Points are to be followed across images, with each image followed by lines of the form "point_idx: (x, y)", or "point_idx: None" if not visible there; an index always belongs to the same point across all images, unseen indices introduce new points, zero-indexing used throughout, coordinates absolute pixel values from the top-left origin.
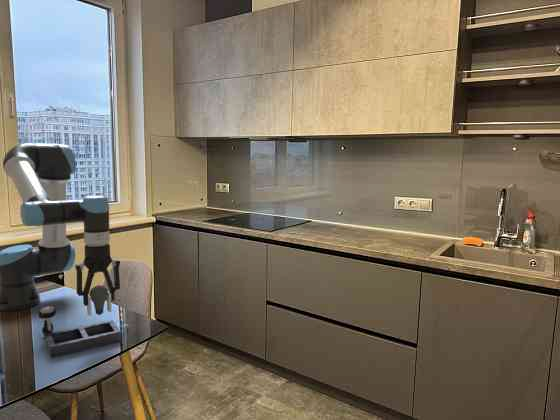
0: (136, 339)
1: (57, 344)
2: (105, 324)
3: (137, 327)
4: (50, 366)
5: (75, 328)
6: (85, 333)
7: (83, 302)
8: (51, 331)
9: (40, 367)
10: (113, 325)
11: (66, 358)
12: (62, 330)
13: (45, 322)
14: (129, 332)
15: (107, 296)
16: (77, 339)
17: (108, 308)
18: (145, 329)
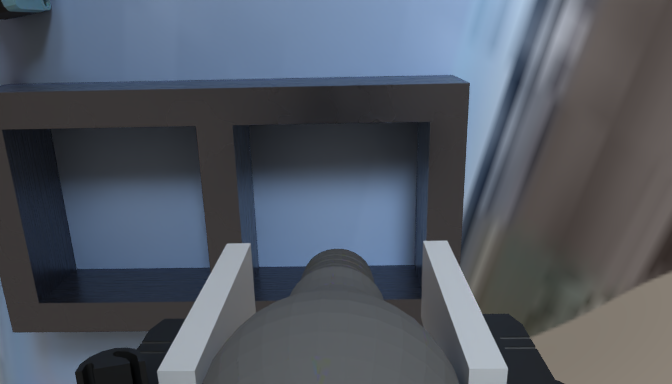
0: (532, 306)
1: (55, 312)
2: (401, 120)
3: (617, 131)
4: (59, 376)
5: (173, 105)
6: (233, 236)
7: (145, 342)
8: (6, 9)
9: (13, 362)
10: (444, 198)
11: (134, 334)
12: (78, 94)
13: None
14: (536, 185)
15: (451, 361)
16: (175, 304)
17: (426, 310)
18: (647, 194)
